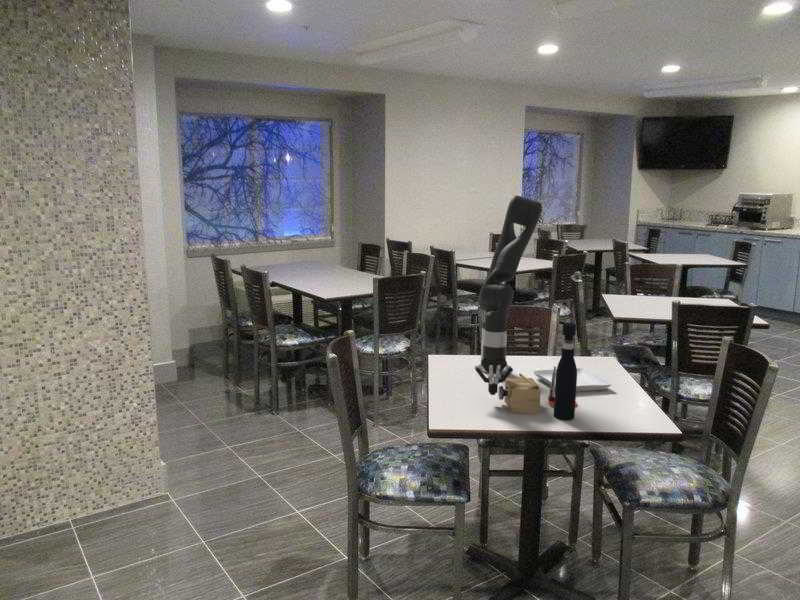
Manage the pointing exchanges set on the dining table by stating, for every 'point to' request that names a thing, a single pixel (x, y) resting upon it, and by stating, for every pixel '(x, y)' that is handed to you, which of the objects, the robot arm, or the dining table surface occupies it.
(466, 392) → the dining table surface
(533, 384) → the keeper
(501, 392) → the pin
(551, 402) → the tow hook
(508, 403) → the block
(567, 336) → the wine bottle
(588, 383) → the salad plate
